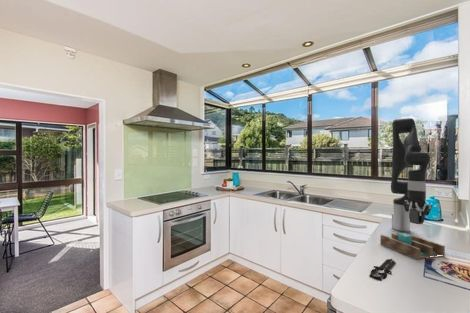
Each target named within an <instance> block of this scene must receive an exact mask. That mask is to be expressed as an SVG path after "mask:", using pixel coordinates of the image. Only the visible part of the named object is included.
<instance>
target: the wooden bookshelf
mask: <svg viewBox="0 0 470 313" xmlns="http://www.w3.org/2000/svg"><path fill="white" fill-rule="evenodd" d="M404 233H405V234H408V235H410V236H412V245H409V244H406V243H404V242H401V241H398V234H396V233H391V236H387V235H385V234H380V240H379V241H380V243H379V244H380V245H383V246H384V247H386V248H387V247H388V248H389V249H392V250H394V251H396V252H398V253H401V254H404V255H405V256H408V257H411V258H413V259H415V260H418V261H419V260H425V258H426V257H430V256H437V255H446V253H445V252H446V249H445V248H446V247H445V245H444V244H441V243H437V242H434V241H431V240H428V239H426V238H422V237H419V236H418V235H417V236H416V235H413V234H411V233H407V232H404ZM426 259H427V258H426Z"/></svg>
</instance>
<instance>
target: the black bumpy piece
mask: <svg viewBox="0 0 470 313" xmlns="http://www.w3.org/2000/svg"><path fill="white" fill-rule="evenodd" d="M396 264H397V263H396V261H395V260H394V259H392V258H390V259H389V258H388V259H385V260H384V261H383V263H382V264H381V265H379V266H378V265H375V266H373V268H372V269H371V270H370V274H369V275H368V276H369V277H370V278H372V279H374V280H377V281H380V282H381V281H382V280H383V279H386V278H387V276H388V274H389V275H392V273H393V271H392V269H393V267H394V265H396ZM374 268H375V269H374ZM381 270H382V271H383V272H380V271H381Z"/></svg>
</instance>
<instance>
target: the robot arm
mask: <svg viewBox="0 0 470 313" xmlns="http://www.w3.org/2000/svg"><path fill="white" fill-rule="evenodd" d="M391 128H392V154H391V164H392V165H391V168H392V169H391V182H390V191H391V193H392V194H394V195H395V194H396V195H403V196H401V197H397V198H393V201H392V202H393V203H392V204H393V208H392V209H393V211H392V214H391V228H392V229H393V230H396V231H400V232H410V231H411V222H410V209H417V211H419V215H420V216H419V223H423V224H424V222H425V216H429V215H430V212H431V210H432V208H433V206H432V204H428V203H427V202H426V198H427V184H426V174H427V173H426V172H427V169H428V166H429V164H430V160H431V156H430V154H429V153H428V152H424V151H422V146H421V144H420V142H419V138H418V132H417V127H416V123H415V119H413V118H412V117H409V118H406V117H405V118H395V119H394V120H393V122H392V127H391ZM400 134H407V136H406V137H405V138H404V139H403V141H402V140H401V138H400ZM408 166H419V167H418V168H415V169H409V170H408V172H407V173H408V175H407V177H408V180H399V179H398V178H399V177H400V175H401V174H402V172H403V171H404V170H406V168H407V167H408Z"/></svg>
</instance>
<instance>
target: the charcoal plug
mask: <svg viewBox="0 0 470 313" xmlns="http://www.w3.org/2000/svg"><path fill="white" fill-rule="evenodd" d="M419 216H420V215H419V211H417V209H410V224H411V223H412V224H416V225H423V224H424V222H423V223H419Z"/></svg>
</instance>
